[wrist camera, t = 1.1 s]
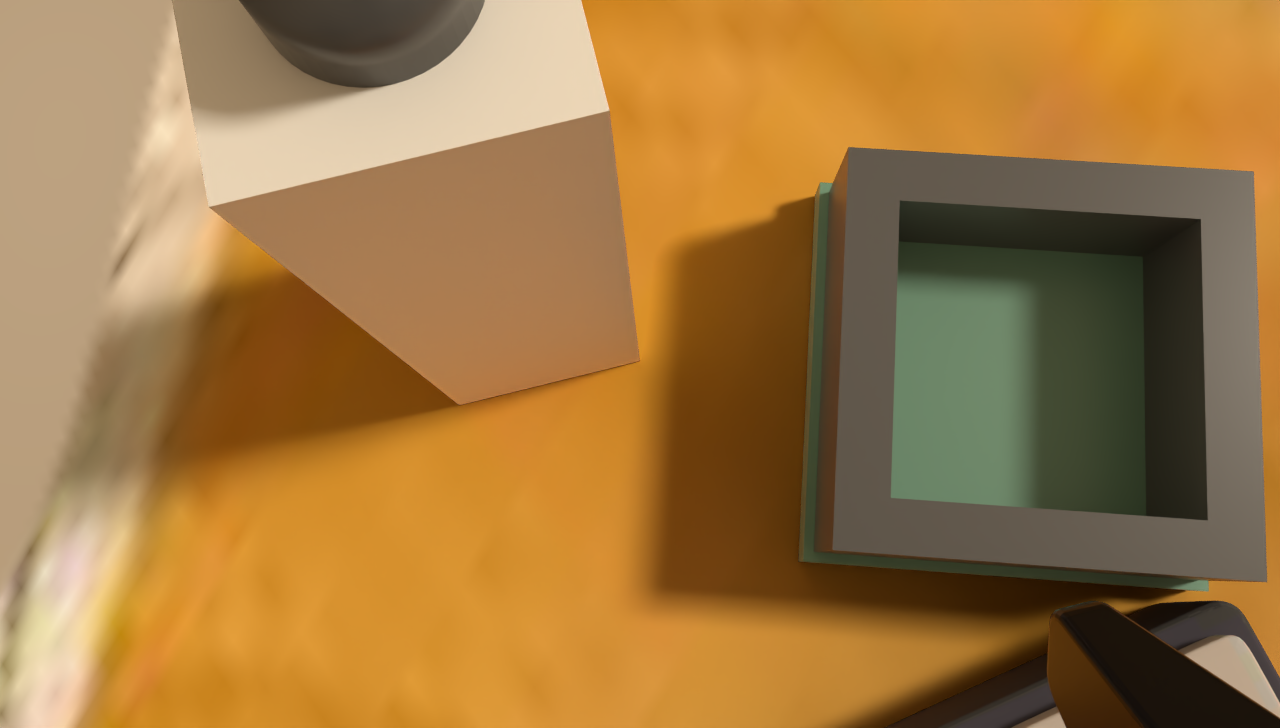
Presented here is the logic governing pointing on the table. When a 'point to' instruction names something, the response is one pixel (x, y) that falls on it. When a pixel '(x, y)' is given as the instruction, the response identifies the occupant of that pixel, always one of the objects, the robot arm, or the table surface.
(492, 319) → the plug
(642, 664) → the table surface
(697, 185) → the table surface
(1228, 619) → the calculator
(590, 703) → the table surface
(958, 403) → the grey and green tray
